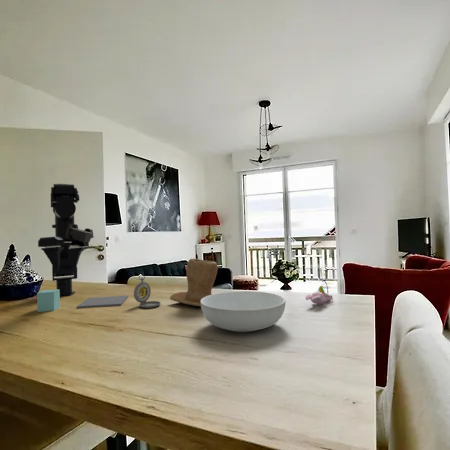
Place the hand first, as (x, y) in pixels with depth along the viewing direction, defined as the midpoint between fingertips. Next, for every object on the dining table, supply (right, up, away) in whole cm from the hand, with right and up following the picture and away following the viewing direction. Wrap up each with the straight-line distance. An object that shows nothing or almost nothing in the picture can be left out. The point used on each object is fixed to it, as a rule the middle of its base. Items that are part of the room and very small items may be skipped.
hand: (66, 269), depth 105 cm
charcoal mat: (+9, -13, +8) cm, 18 cm away
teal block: (-6, -13, 0) cm, 14 cm away
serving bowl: (+56, -11, -26) cm, 63 cm away
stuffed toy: (+81, -11, -5) cm, 82 cm away
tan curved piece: (+43, -12, +1) cm, 44 cm away
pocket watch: (+27, -12, +1) cm, 29 cm away
